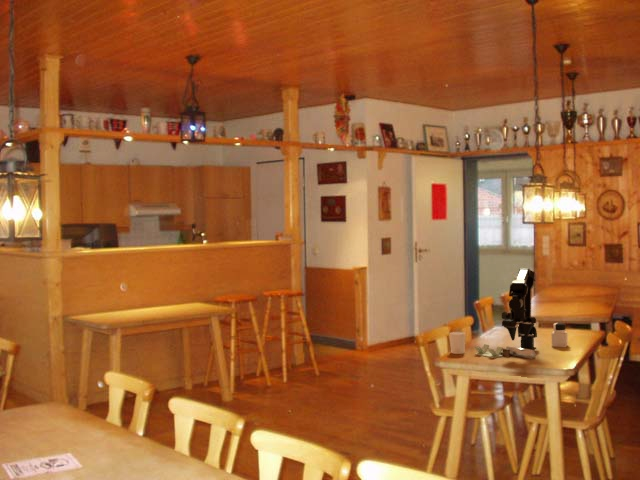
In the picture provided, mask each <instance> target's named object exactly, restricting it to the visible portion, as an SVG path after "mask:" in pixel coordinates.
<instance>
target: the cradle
mask: <svg viewBox="0 0 640 480" xmlns="http://www.w3.org/2000/svg"><path fill="white" fill-rule="evenodd" d="M474 349H475V350H476V351H477V352H476V353H474V355H476V356H481V357H487V358H490V359H496V358H500V357H504V356H503V355H500V353H501V352H503V346H502V347H501V346H497V347H496V348H495V350H494V349H493V348H490V345H489V344H483V345H482V348H481V347H480V346H477V345H475V346H474Z"/></svg>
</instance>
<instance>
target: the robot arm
mask: <svg viewBox="0 0 640 480" xmlns="http://www.w3.org/2000/svg"><path fill="white" fill-rule="evenodd" d="M518 270H519V271H518V272H517V273H518V274H517V278H516V279H514V280H512V282H511V284H510V285H509V294H508V297H512V298H511V299H510V300H509V302H508V306H509V308H510V312H506V311H504V312H501V318H502V321H501V326H502V327H504V328H505V329H506V330H507V331H508V334H509V336H510V338H511V340H512V341H515V338H516V333H517V336H518V338H520V347H519V346H518V347H519V348H524V349H529V350H535V349H537V347H535V340H534V338H538V331H537V327H536V326H535V324H537V319H536V317H534V316H532V292H533V291H532V290H533V288H534V287H535V285H536V281H537V274H536V273H535V271H533V270H531V268H528V267H520V268H519V269H518ZM517 324H518V325H517Z"/></svg>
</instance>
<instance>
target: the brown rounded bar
mask: <svg viewBox="0 0 640 480" xmlns="http://www.w3.org/2000/svg"><path fill="white" fill-rule="evenodd" d="M518 347H519V346H511V345H508V346H506V347H505V348H506V349H510V356H511V355H512V357H516V356H517V357H516V358H522V359H529V360H534V359H535V358H536V351H535V349H531V350H529V349H524V348H518Z"/></svg>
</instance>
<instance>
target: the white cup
mask: <svg viewBox="0 0 640 480" xmlns="http://www.w3.org/2000/svg"><path fill="white" fill-rule="evenodd" d="M449 345H450V351H451V352H450V353H451V354H453V355H462V354H463V355H464V354H465V349H466V332H462V331H454V332H453V331H452V332H450V333H449Z"/></svg>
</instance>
